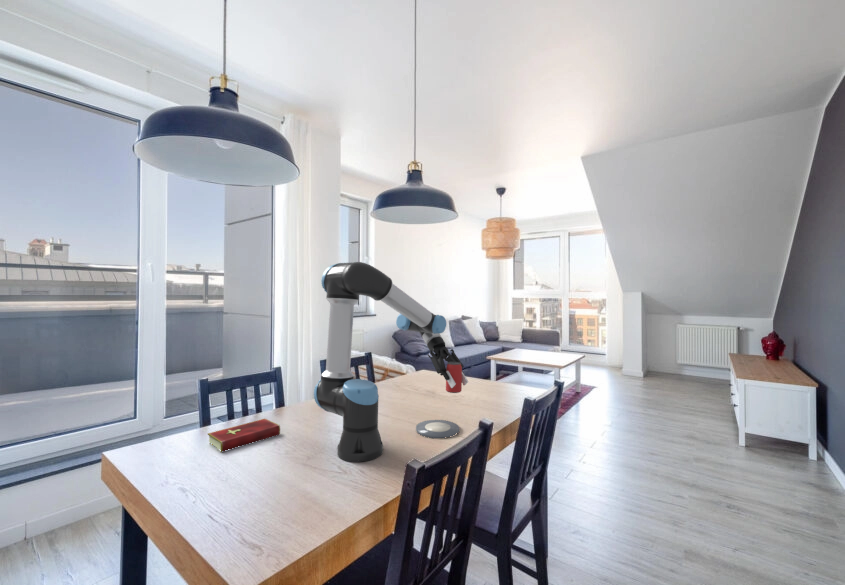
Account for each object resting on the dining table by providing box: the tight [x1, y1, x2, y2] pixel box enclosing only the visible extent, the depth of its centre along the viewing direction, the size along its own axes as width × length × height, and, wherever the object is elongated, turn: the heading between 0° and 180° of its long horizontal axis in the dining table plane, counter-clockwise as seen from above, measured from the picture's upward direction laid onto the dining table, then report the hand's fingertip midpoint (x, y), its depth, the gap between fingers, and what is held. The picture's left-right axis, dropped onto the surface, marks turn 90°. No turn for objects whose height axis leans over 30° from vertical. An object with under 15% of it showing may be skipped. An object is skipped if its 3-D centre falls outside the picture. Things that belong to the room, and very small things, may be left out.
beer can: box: [445, 361, 463, 394], centre depth 154 cm, size 7×7×12 cm
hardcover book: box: [207, 418, 281, 453], centre depth 136 cm, size 12×21×4 cm, turn 139°
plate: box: [415, 419, 460, 439], centre depth 145 cm, size 17×17×1 cm
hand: (459, 384), depth 151 cm, fingers closed on beer can, 7 cm apart
